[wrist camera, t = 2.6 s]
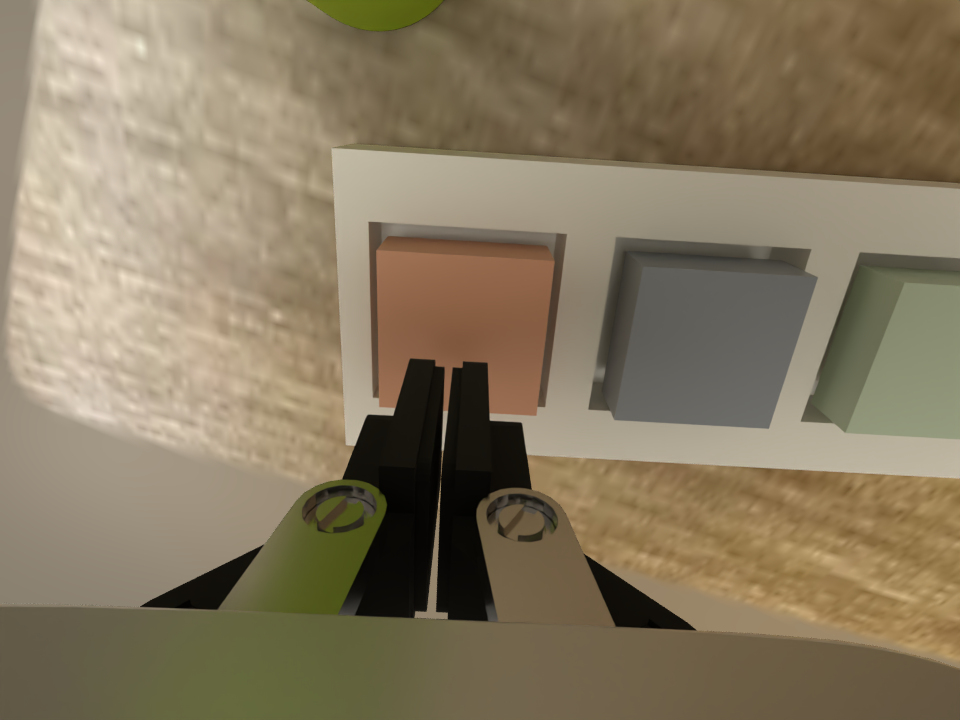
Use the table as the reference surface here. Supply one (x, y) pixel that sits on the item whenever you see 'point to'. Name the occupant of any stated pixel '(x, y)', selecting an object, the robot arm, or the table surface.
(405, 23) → the soap dispenser
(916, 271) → the sage button
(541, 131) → the table surface
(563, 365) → the button panel
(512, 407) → the terracotta button
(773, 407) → the slate button
